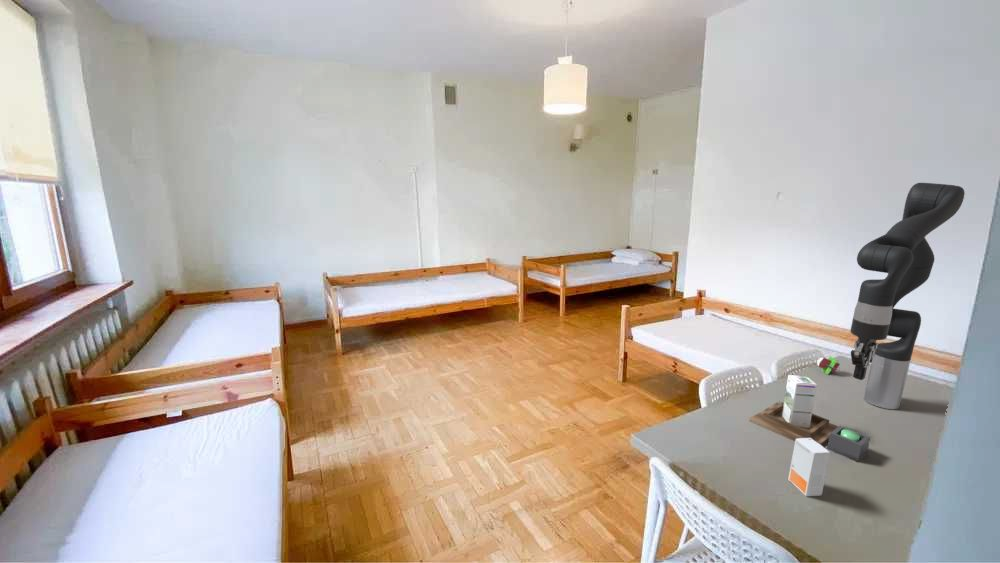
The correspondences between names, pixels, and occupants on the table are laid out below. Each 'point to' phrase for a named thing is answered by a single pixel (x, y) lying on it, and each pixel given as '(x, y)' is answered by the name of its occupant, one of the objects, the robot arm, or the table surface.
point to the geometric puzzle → (828, 365)
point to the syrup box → (799, 400)
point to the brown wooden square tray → (777, 424)
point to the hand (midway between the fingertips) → (858, 378)
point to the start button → (850, 435)
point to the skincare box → (809, 466)
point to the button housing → (848, 444)
